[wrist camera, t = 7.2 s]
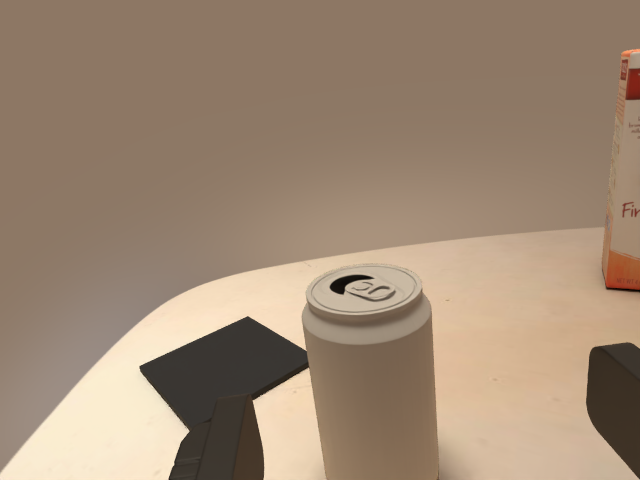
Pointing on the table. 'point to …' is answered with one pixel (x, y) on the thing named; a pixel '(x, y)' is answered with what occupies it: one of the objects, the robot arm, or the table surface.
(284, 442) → the table surface
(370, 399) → the beverage can
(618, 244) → the cracker box
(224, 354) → the mat
